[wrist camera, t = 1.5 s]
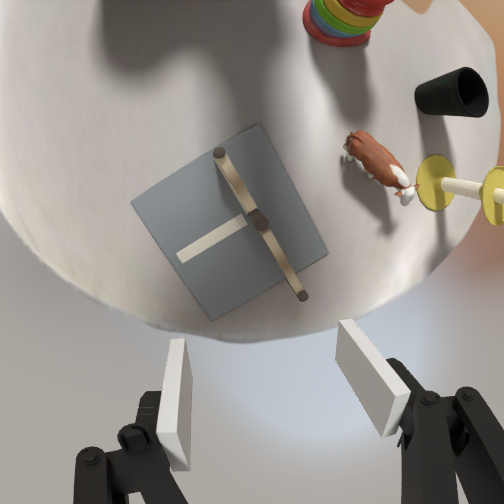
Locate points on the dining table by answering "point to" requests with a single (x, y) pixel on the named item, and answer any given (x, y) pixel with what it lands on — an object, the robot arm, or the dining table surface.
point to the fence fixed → (241, 190)
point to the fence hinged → (284, 265)
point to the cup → (454, 94)
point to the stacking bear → (342, 20)
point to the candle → (460, 188)
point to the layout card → (229, 224)
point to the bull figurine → (380, 164)
